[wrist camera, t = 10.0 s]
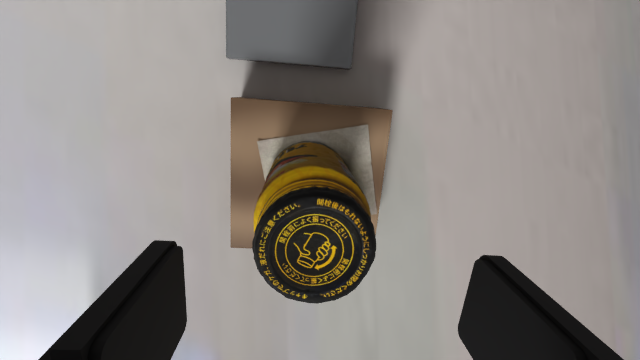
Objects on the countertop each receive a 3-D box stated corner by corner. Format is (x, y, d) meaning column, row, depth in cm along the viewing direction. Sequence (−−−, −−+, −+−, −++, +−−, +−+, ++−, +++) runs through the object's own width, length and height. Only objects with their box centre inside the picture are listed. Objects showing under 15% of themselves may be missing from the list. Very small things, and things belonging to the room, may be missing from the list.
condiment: (257, 140, 23) (214, 186, 11) (367, 124, 23) (435, 152, 12) (274, 228, 25) (253, 342, 13) (376, 212, 25) (441, 311, 14)
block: (241, 97, 26) (230, 97, 22) (379, 108, 27) (392, 110, 23) (239, 227, 29) (230, 247, 25) (363, 232, 30) (372, 253, 26)
